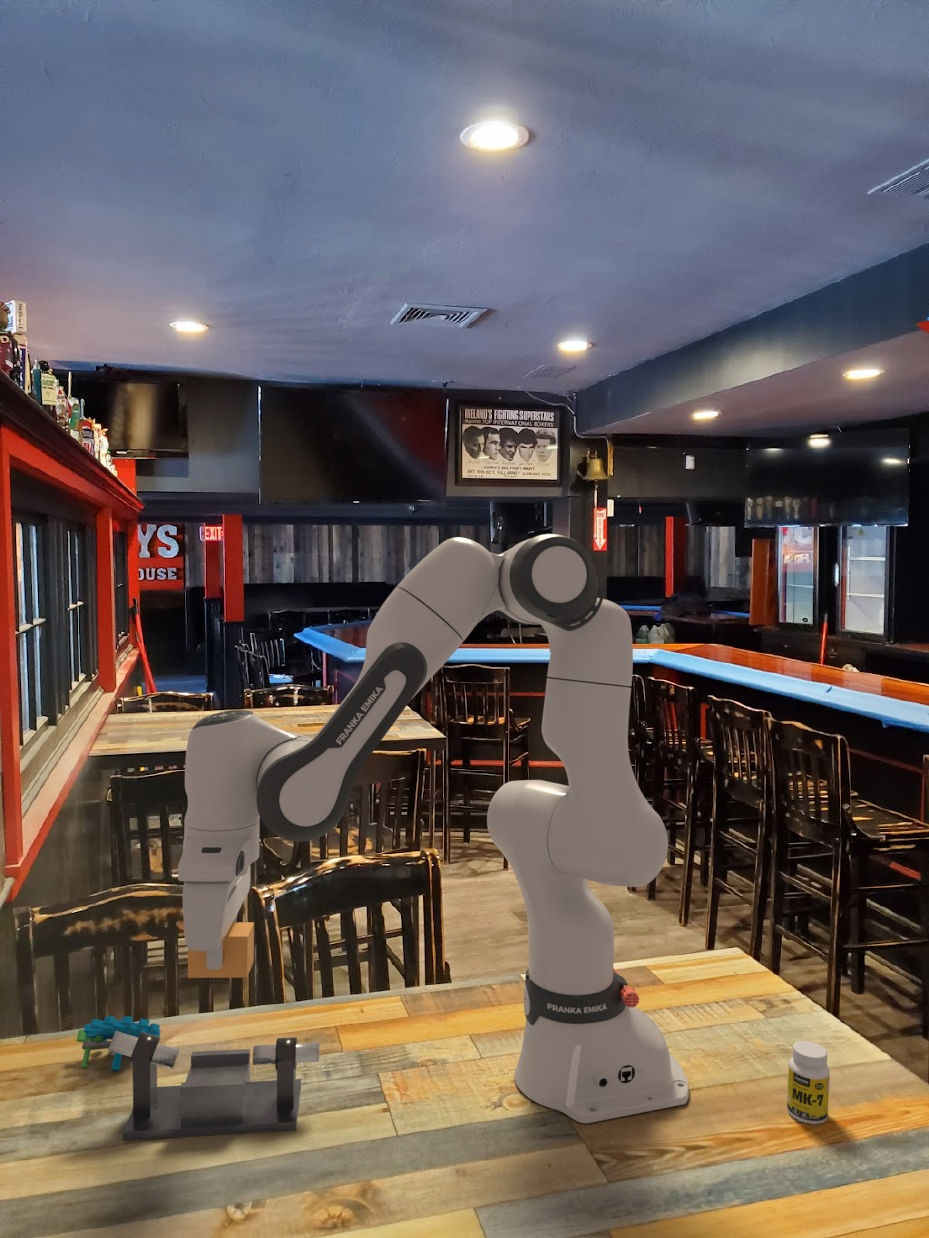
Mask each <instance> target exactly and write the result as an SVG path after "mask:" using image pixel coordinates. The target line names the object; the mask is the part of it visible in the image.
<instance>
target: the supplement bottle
mask: <svg viewBox="0 0 929 1238" xmlns="http://www.w3.org/2000/svg"><path fill="white" fill-rule="evenodd" d="M791 1055H792V1057H791V1058H790V1060H789V1062H788V1070H787V1071H788V1075H787V1098H786V1109H787V1112H788V1114H790V1115H789V1116H791V1117H792V1118H793V1119H795V1120H796V1119H797V1120H796V1121H799V1122H801V1123H803V1122H804V1123H803V1124H807V1123H809V1124H808V1125H821V1124H824V1123H825V1122H826V1121H827V1119H828V1115H829V1098H830V1097H829V1095H830V1092H829V1091H830V1075H831V1074H830V1071H831V1070H830V1067H829V1066H828V1065H827V1064H828V1052H827V1050H826V1048H825V1047H824V1046H822V1045H821V1044H819V1043H817V1042H813V1041H809V1040H799V1041H795V1042H794V1043H793V1045H792V1053H791ZM820 1123H821V1124H820Z"/></svg>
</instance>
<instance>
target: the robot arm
mask: <svg viewBox="0 0 929 1238" xmlns="http://www.w3.org/2000/svg"><path fill="white" fill-rule="evenodd" d="M587 551H588V550H587V549H585V547H584V546H583V545H582V544H581V543H579V542H578V541H577V540H575V539H573V538H570V537H569V536H566V535H561V534H556V533H554V534H553V533H545V534H540V535H537V536H534V537H531V538H528V539H526V540H523V541H520V542H518V543H517V544H515V545H514V546H513V547H511V548H509V549H508V550H506V551H503V552H502V553H498V554H496V553H493V552H491V551H489V550H488V548H485V547H484V546H483V545H482V544H480V543H478V542H476V541H474V540H473V539H469V538H465V537H462V536H461V537H459V536H457V537H451V538H447V539H446V540H444V541H443V542H441V543H440V544H439V545H437V547H435V548H434V549H433V550H432V551H430V552H429V553H428V554H427V555H426V556H424V557H423V558H422V559H421V560H420V561H419V562H418V563H417V564H416V565H415V566H414V567H413V568H412V569H411V570H410V571H409V572H408V573H407V574H406V575H405V576H404V578H403V579H402V580H401V581H400V582H399V583H398V584H397V585H396V587H395V588H394V589H393V590H392V591H391V593H390V594H389V595H388V596H387V598H386V599H385V601H384V602H383V604H382V605H381V606H380V608H379V610H378V611H377V613H376V615H375V617H374V618H373V620H372V622H371V623H370V625H369V628H368V630H367V633H366V640H365V641H366V642H365V656H364V662H363V666H362V669H361V671H360V673H359V676H358V678H357V680H356V682H355V684H354V686H353V687H352V688H351V690H350V691H349V692H348V693H347V695H346V696H345V698H344V699H343V700H342V701H341V703H340V704H339V705H338V707H337V708H336V709H335V710H334V711H333V713H332V715H330V716H329V718H328V719H327V720H326V722H325V723H324V725H323V726H322V727H321V729H320V730H319V731H318V733H317V734H316V735H315V736H314V737H310V736H306V735H303V734H299V733H295V732H293V731H292V732H291V731H288V730H285V729H282V728H280V727H278V726H275V725H273V724H271V723H269V722H267V721H265V720H264V719H262V718H261V717H259V716H258V715H257V714H256V713H254V712H253V711H252V710H247V709H236V710H235V709H233V710H225V711H220V712H217V713H212V714H209V715H207V716H204V717H203V718H201V719H200V720H198V721H197V722H196V723H195V724H194V725H193V727H192V728H191V730H190V732H189V734H188V739H187V743H186V744H187V745H186V751H185V764H184V765H185V766H184V789H185V790H184V791H185V793H186V796H187V810H186V813H185V816H184V822H183V823H184V824H183V825H184V830H183V831H184V833H183V844H182V845H183V846H182V847H183V849H182V854H181V857H180V859H179V862H178V865H177V879H178V881H179V882H183V887H182V911H183V914H182V915H183V929H184V930H183V932H184V941H185V943H186V947H187V950H188V949H189V950H191V951H205V952H206V955H207V968H208V969H210V970H218V969H220V968H221V967H222V965H223V963H224V950H223V940H224V938H225V936H226V934H227V932H228V930H229V929H230V927H231V925H232V923H233V922H237V917H238V913H239V911H240V910H241V907H242V905H243V903H244V902H245V900H246V898H247V896H248V894H249V892H250V889H251V888H250V887H251V879H252V878H251V864H253V863H254V862H256V861H257V860H258V859H259V857H260V826H261V825H260V824H261V823H260V820H261V822H262V823H263V825H265V827H266V828H267V829H268V831H270V832H271V833H272V834H274V835H275V836H277V837H279V838H281V839H284V840H287V841H291V842H309V841H313V840H317V839H319V838H321V837H323V836H325V835H327V834H328V833H329V832H331V831H333V829H335V827H336V826H337V825H338V824H339V823H340V821H341V819H342V818H343V816H344V814H345V812H346V809H347V807H348V805H349V800H350V797H351V793H352V789H353V786H354V784H355V781H356V778H357V776H358V774H359V773H360V771H361V769H362V767H363V766H364V765H365V763H366V762H367V761H368V759H369V758H370V757H371V756H372V754H373V752H374V751H375V750H376V748H377V747H378V746H379V744H380V743H381V742H382V740H383V739H384V737H385V736H386V735H387V733H388V732H389V731H390V729H391V728H392V727H393V725H394V724H395V722H396V721H397V720H398V719H399V717H400V716H401V714H402V713H403V712H404V710H405V709H406V707H407V706H408V705H409V704H410V702H411V701H412V699H414V697H415V696H416V695H417V694H418V693H419V692H420V691H421V690H422V688H424V686H425V685H427V683H428V681H430V679H431V678H433V677H434V675H435V674H436V673H437V672H438V671H439V670H440V669H441V668H442V667H443V666H444V665H445V664H446V662H447V661H448V660H449V659H450V658H451V657H452V656H453V655H454V653H455V652H456V651H457V650H458V649H459V647H460V646H461V645H462V644H463V642H464V641H466V639H467V638H468V636H469V635H470V634H471V633H472V631H473V630H474V628H475V627H476V626H477V625H478V623H480V622H481V621H482V620H483V619H484V618H486V616H488V615H490V614H494V615H496V616H499V617H500V618H503V619H504V620H507V621H509V622H513V623H515V624H520V625H541V628H543V630H544V632H545V634H546V636H547V637H546V638H547V640H548V645H549V646H548V647H549V653H550V657H549V660H548V667H547V674H546V677H547V678H546V685H545V694H544V695H545V696H544V705H543V711H542V712H543V713H542V721H541V734H542V738H543V741H544V742H545V744H546V746H547V747H548V748H549V749H550V750H551V751H552V752H553V753H554V754H555V755H557V757H558V758H559V759H560V761H561V763H562V765H563V767H564V770H565V772H566V776H567V777H566V778H567V780H568V785H566V784H561V783H556V782H551V781H547V780H542V779H526V780H525V779H524V780H523V779H522V780H511V781H508V782H506V783H504V784H502V785H501V786H500V787H499V788H498V789H497V791H496V792H495V793H494V795H493V797H492V798H491V800H490V802H489V806H488V809H487V817H486V825H487V830H488V834H489V838H490V839H491V841H492V842H493V844H494V845H495V847H497V848H498V849H499V851H500V852H501V853H502V855H503V856H504V858H505V859H506V861H507V862H508V864H509V866H510V867H511V869H512V872H513V875H514V876H515V880H516V881H517V884H518V887H519V889H520V892H521V895H522V900H523V903H524V907H525V911H526V917H527V931H528V968H527V970H526V972H525V976H524V977H525V979H524V981H525V982H524V984H523V1011H524V1012H523V1013H524V1016H525V1026H524V1033H523V1041H522V1045H521V1050H520V1054H519V1058H518V1061H517V1065H516V1067H515V1071H514V1080H515V1084H516V1087H518V1089H519V1090H520V1092H522V1094H524V1095H525V1096H526V1097H528V1099H530V1100H531V1101H534V1102H535V1103H537V1104H539V1105H541V1106H544V1107H546V1108H549V1109H552V1110H554V1111H555V1110H557V1111H558V1112H561V1113H564V1115H567V1116H568V1117H570V1118H571V1119H572V1120H574V1121H576V1122H579V1123H581V1124H590V1123H591V1124H592V1123H596V1122H601V1121H606V1120H611V1119H616V1118H621V1117H626V1116H632V1115H636V1114H641V1113H647V1112H651V1111H656V1110H662V1109H667V1108H672V1107H675V1106H676V1107H677V1106H682V1105H685V1104H687V1102H688V1100H689V1096H690V1095H689V1094H690V1091H689V1090H690V1089H689V1082H688V1078H687V1076H686V1074H685V1071H684V1069H683V1068H682V1066H681V1064H680V1062H678V1060H677V1059H676V1058H675V1056H674V1055H672V1053H670V1051H669V1047H668V1043H667V1040H666V1039H665V1036H664V1035H663V1033H662V1031H661V1029H660V1028H659V1026H658V1025H657V1024H656V1022H655V1021H654V1020H653V1019H652V1018H650V1016H649V1015H647V1014H646V1013H644V1012H643V1011H642V1010H640V1009H639V1008H637V1007H636V1006H638V1004H639V1002H640V996H639V994H638V993H637V991H636V990H635V989H634V987H632V986H628V982H627V980H626V979H625V978H624V977H623V976H621V975H620V973H619V972H618V971H617V970H616V969H615V968H614V959H615V958H614V957H615V956H614V955H615V953H614V952H615V951H614V949H615V947H614V946H615V925H614V921H613V917H612V914H610V911H609V910H608V909H607V907H606V906H605V905H604V903H602V902H601V900H600V899H599V898H598V897H597V896H596V895H595V894H594V892H593V891H592V889H591V888H590V886H589V884H588V881H591V882H593V883H597V884H601V885H604V886H610V887H611V886H612V887H622V888H641V887H642V888H643V887H645V886H647V885H648V884H650V883H651V882H652V881H653V880H654V879H655V878H656V877H657V876H658V875H659V873H660V872H661V871H662V869H663V867H664V865H665V862H666V859H667V856H668V851H669V838H668V832H667V829H666V827H665V823H664V822H663V820H662V818H661V816H660V815H659V813H657V811H655V809H654V808H653V807H652V806H651V805H650V803H649V802H648V800H647V799H646V797H645V796H644V794H643V792H642V791H641V788H640V787H639V784H638V782H637V779H636V777H635V773H634V770H633V768H632V762H631V759H630V753H629V738H628V737H629V721H630V720H629V719H630V718H629V717H630V706H631V705H630V704H631V693H632V688H631V687H632V685H633V684H632V682H633V670H634V669H633V666H634V665H633V663H634V656H633V655H634V653H633V652H634V649H633V648H634V647H633V633H632V623H631V618H630V616H629V614H628V613H627V611H626V610H625V609H624V608H623V607H622V606H620V605H619V604H617V603H616V602H613V601H611V600H608V599H606V598H605V599H604V591H603V589H602V588H603V587H601V584H600V581H599V579H598V577H597V573H596V568H595V565H594V562H593V561H592V558H591V556H590V554H589V553H588V552H587ZM587 880H588V881H587Z"/></svg>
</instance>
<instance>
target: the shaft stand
mask: <svg viewBox="0 0 929 1238" xmlns="http://www.w3.org/2000/svg"><path fill="white" fill-rule="evenodd" d="M160 1040H161V1036H160V1037H158V1036H155V1035H151V1034H148V1033H144V1032H141V1033H140V1035H139V1038H138V1037H135V1036H131V1035H128V1034H125V1033H121V1032H118V1031H116V1032H115V1034H114V1036H113V1038H112V1040H110V1041H111V1043H110V1046H109V1048H107V1049H108V1050H107V1052H108V1051H109V1052H113V1053H119V1054H122V1056H123V1055H124V1056H126V1057H129V1061H128V1064H130V1065H132V1111H131V1112H130V1115H129V1117H128V1119H127V1122H126V1124H125V1126H124V1129H123V1131H122V1141H135V1140H139V1141H140V1140H150V1139H151V1140H156V1139H168V1138H169V1139H172V1138H173V1139H174V1138H186V1137H202V1136H203V1137H204V1136H218V1135H219V1136H220V1134H222V1135H235V1134H236V1135H237V1134H250V1133H252V1134H253V1133H268V1132H271V1133H272V1132H283V1131H297V1126H298V1117H299V1109H300V1100H301V1093H302V1091H301V1090H302V1078H297V1076H296V1075H297V1074H296V1073H297V1072H296V1071H297V1064H299V1063H302V1064H303V1063H319V1062H320V1046H321V1045H320V1042H319V1041H318V1042H317V1041H316V1042H298V1037H297V1036H293V1037H291V1036H290V1037H278V1038H276V1042H275V1043H276V1044H257V1045H256V1044H255V1045H253V1048H252V1066H261V1065H262V1066H264V1065H267V1066H268V1065H275V1071H276V1080H259V1081H258V1080H257V1081H255V1080H254V1081H251V1077H250V1076H251V1048H241V1049H239V1048H238V1049H221V1050H219V1049H218V1050H202V1051H201V1050H200V1051H191V1055H190V1067H189V1070H188V1073H187V1075H186V1076H187V1077H186V1079H185V1082H181V1083H180V1085H167V1086H166V1085H165V1086H158V1066H161V1067H164V1068H168V1069H171V1070H173V1069H174V1066H175V1064H176V1062H177V1058H178V1055H179V1053H180V1049H179V1048H176V1047H172V1046H169V1045H165V1044H162V1043H160ZM300 1092H301V1093H300ZM216 1134H218V1135H216Z"/></svg>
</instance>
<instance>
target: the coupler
mask: <svg viewBox="0 0 929 1238" xmlns="http://www.w3.org/2000/svg"><path fill="white" fill-rule="evenodd" d="M254 940H255V922H254V921H253V922H252V921H251V922H250V921H249V922H248V921H247V922H246V921H245V922H243V921H242V922H241V921H239V922H237V921H236V922H233V923H232V925H231V927H230V929H229V930H228V932H227V934H226V936H225V938H224V940H223V950H224V963H223V965H222V967H221V968H220V969H218V970H210V969H208V968H207V955H206V952H205V951H191V950H189V949H188V948H187V978H188V979H204V978H205V979H207V978H209V979H210V978H212V979H215V978H217V979H219V978H221V979H222V978H223V979H224V978H230V979H231V978H232V979H233V978H236V979H237V978H248V976H249V973H250V971H251V969H252V967H253V964H254V961H255V960H254V959H255V958H254V957H255V955H254V953H255V951H254V948H255V943H254V942H255V941H254Z"/></svg>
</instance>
